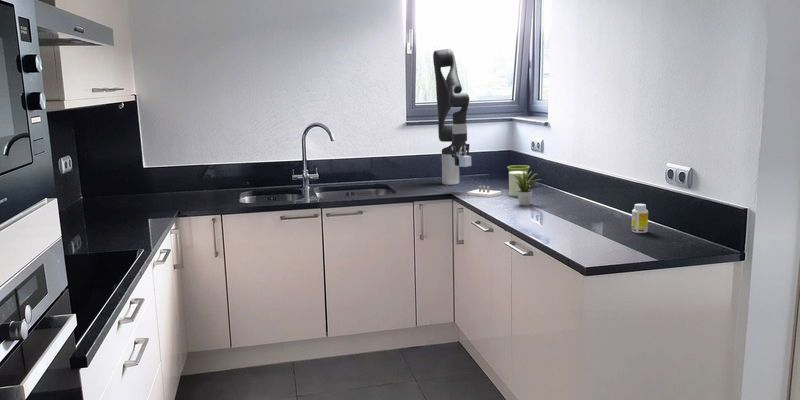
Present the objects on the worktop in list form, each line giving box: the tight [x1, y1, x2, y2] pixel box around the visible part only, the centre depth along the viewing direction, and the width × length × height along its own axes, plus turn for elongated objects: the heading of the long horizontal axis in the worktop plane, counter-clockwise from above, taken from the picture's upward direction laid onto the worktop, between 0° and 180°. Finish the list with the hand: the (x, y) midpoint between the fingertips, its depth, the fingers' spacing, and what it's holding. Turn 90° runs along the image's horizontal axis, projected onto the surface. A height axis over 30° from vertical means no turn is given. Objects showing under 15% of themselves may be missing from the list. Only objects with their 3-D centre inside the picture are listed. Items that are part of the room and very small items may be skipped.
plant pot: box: [506, 164, 530, 174], centre depth 339 cm, size 12×12×11 cm
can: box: [508, 171, 528, 198], centre depth 317 cm, size 9×9×12 cm
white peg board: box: [466, 185, 502, 198], centre depth 321 cm, size 10×14×4 cm
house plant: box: [513, 170, 542, 206], centre depth 290 cm, size 14×14×16 cm
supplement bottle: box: [631, 203, 649, 234], centre depth 232 cm, size 6×6×10 cm
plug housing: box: [450, 154, 472, 168], centre depth 329 cm, size 5×10×5 cm, turn 48°
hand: (460, 164), depth 329 cm, fingers closed on plug housing, 5 cm apart
